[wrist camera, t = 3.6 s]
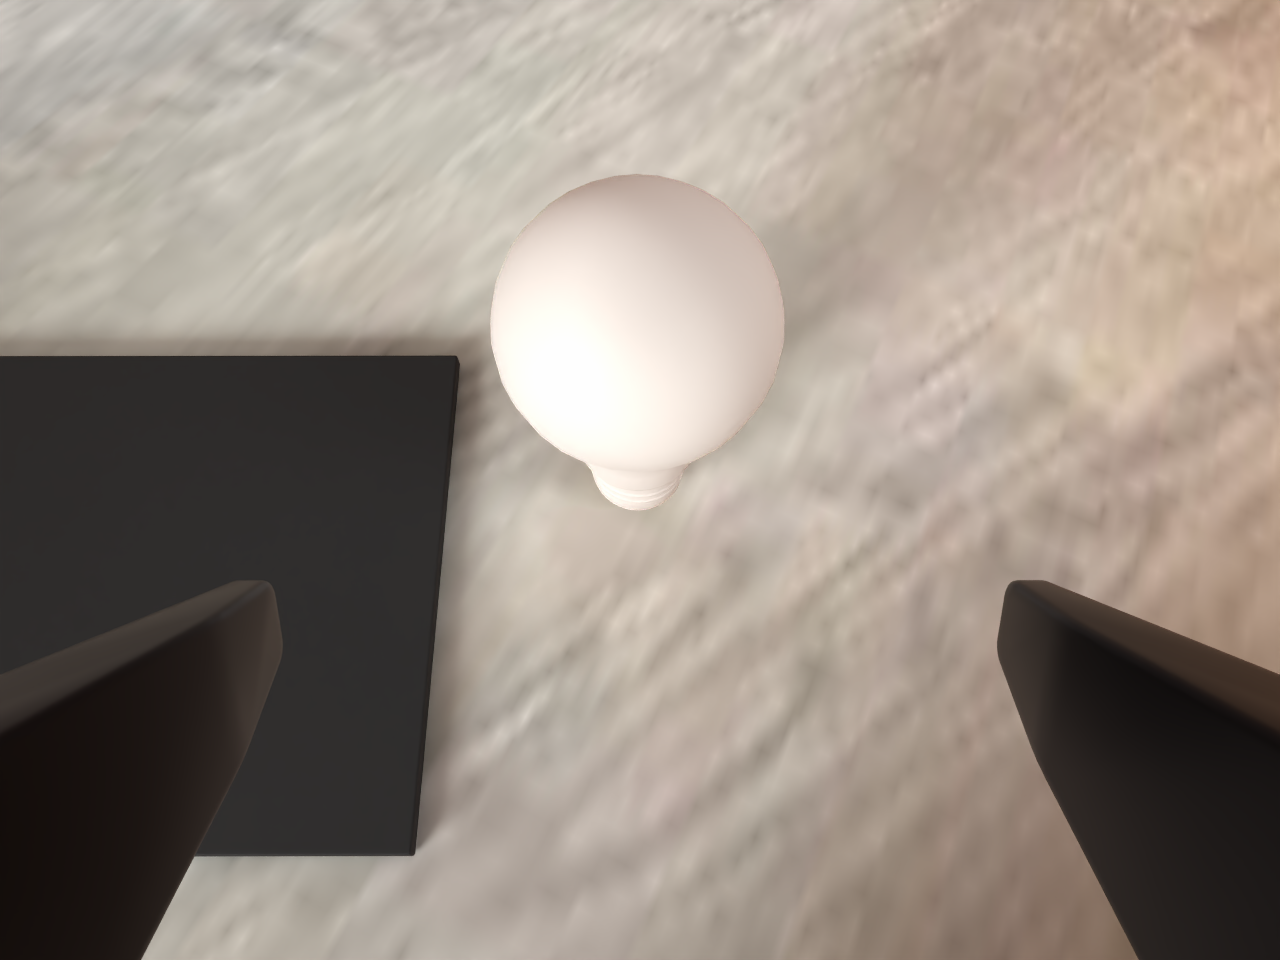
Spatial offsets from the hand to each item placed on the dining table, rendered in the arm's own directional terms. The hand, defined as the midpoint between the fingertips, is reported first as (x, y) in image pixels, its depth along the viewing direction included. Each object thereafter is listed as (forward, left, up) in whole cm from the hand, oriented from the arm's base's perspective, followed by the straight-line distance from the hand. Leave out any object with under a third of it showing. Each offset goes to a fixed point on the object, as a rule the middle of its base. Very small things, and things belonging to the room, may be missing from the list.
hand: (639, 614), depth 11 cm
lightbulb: (+6, -5, -13) cm, 16 cm away
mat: (+14, +9, -13) cm, 21 cm away
